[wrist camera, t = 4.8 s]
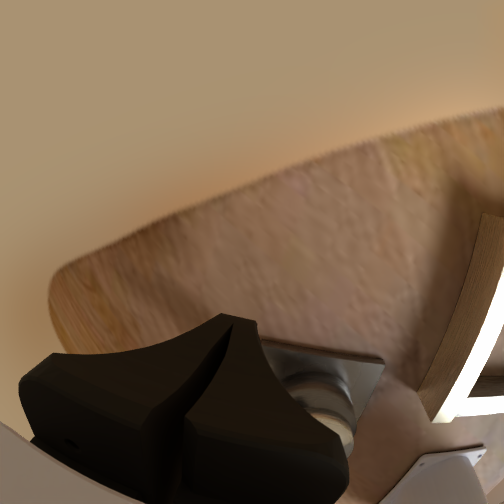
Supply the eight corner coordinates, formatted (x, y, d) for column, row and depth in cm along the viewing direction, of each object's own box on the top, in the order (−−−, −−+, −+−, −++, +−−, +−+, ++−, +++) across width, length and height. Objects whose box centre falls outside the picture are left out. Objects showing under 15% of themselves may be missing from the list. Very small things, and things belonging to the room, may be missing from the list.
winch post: (342, 439, 17) (346, 472, 14) (241, 425, 17) (233, 458, 14) (382, 359, 15) (396, 391, 12) (261, 339, 16) (254, 371, 13)
